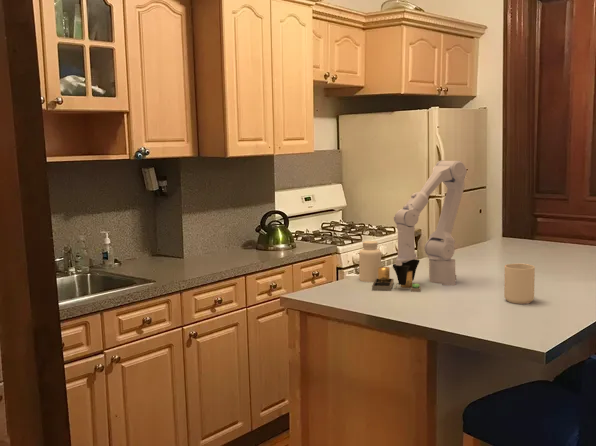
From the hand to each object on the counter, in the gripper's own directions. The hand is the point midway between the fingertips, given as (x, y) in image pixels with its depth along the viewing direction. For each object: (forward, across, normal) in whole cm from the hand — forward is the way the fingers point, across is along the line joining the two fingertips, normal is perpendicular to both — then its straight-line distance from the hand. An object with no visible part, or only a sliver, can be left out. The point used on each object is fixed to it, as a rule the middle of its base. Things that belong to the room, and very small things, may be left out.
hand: (406, 282), depth 221 cm
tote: (+2, 0, 0) cm, 2 cm away
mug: (+2, +1, -38) cm, 38 cm away
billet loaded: (+1, 0, +8) cm, 8 cm away
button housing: (+2, -5, -5) cm, 7 cm away
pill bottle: (+3, +5, +16) cm, 17 cm away
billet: (+2, 0, 0) cm, 2 cm away
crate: (+2, -3, +7) cm, 8 cm away
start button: (+3, -5, -5) cm, 8 cm away
